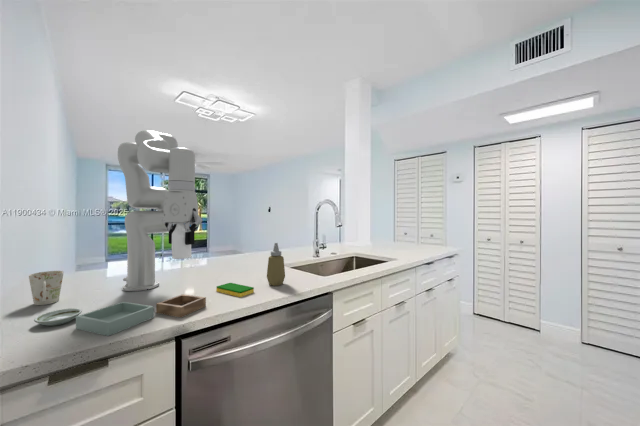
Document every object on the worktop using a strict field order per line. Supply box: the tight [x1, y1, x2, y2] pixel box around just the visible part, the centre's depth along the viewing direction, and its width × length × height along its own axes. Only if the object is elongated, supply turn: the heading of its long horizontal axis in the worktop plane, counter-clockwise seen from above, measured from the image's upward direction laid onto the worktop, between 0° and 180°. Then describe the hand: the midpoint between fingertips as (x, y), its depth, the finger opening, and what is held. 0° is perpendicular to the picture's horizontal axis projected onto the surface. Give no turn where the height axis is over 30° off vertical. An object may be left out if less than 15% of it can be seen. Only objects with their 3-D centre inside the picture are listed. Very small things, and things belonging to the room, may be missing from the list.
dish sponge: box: [215, 282, 255, 298], centre depth 105 cm, size 7×14×2 cm, turn 59°
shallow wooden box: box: [155, 293, 207, 318], centre depth 86 cm, size 10×10×3 cm
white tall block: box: [171, 223, 192, 260], centre depth 86 cm, size 6×12×6 cm
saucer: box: [33, 307, 83, 327], centre depth 76 cm, size 10×10×2 cm
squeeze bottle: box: [266, 242, 286, 287], centre depth 116 cm, size 8×8×18 cm
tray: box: [75, 301, 155, 337], centre depth 76 cm, size 13×13×3 cm
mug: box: [28, 270, 64, 306], centre depth 91 cm, size 8×13×10 cm, turn 45°
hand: (181, 243), depth 86 cm, fingers closed on white tall block, 6 cm apart
